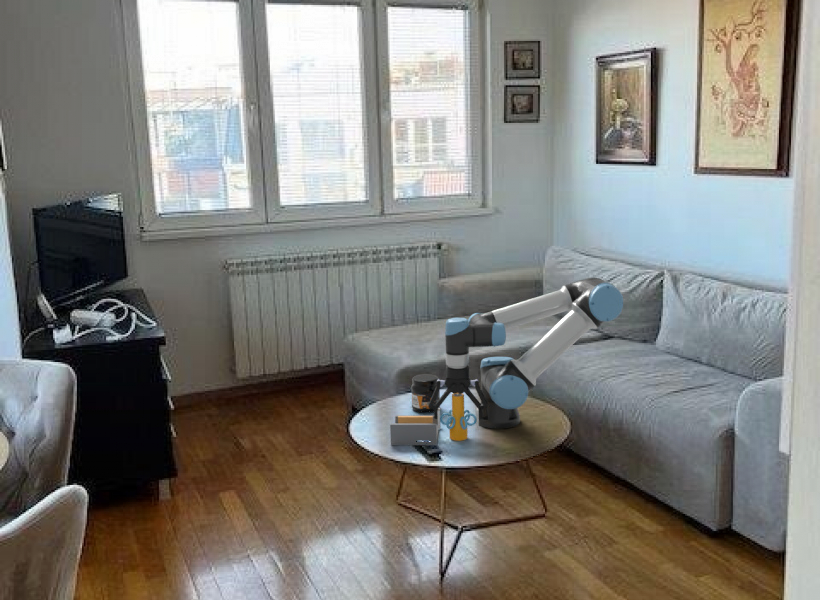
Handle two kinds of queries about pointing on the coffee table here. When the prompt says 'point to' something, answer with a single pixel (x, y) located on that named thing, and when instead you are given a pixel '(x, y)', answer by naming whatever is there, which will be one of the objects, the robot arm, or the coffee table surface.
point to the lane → (414, 432)
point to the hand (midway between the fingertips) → (458, 428)
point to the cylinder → (458, 418)
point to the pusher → (415, 419)
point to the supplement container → (423, 392)
